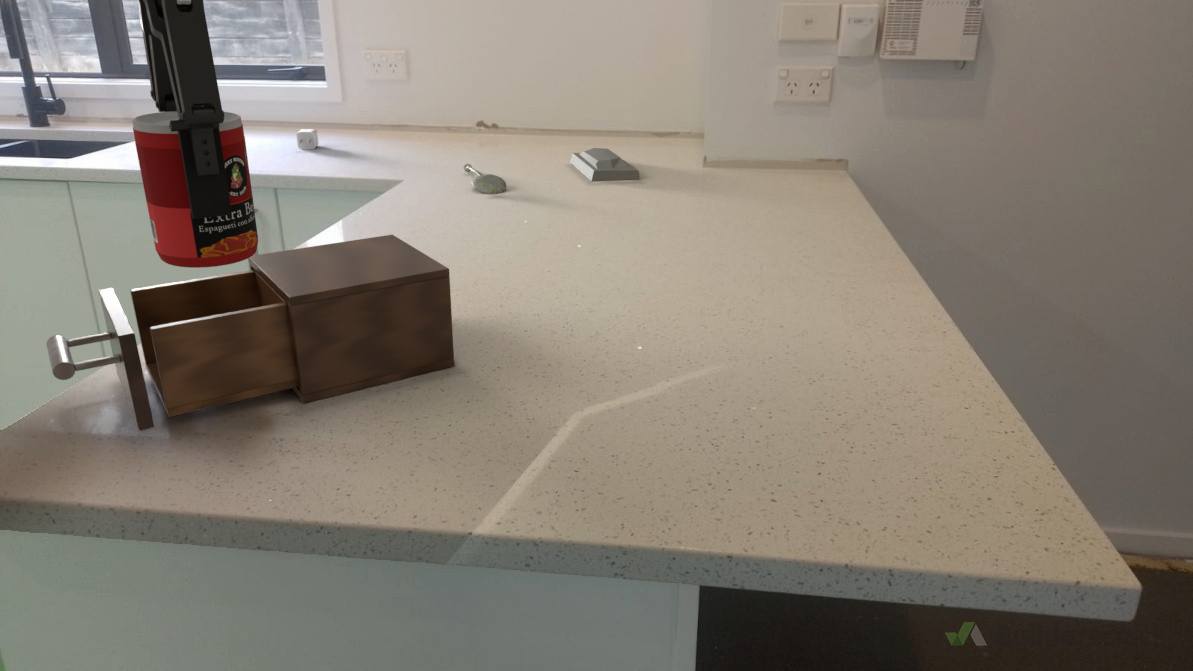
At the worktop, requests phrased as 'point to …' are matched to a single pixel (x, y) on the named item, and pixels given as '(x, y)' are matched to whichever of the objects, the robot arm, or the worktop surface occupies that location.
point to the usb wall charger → (307, 139)
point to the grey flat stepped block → (603, 165)
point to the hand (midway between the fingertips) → (200, 203)
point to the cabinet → (362, 312)
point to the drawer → (193, 343)
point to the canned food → (169, 198)
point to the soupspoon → (486, 182)
